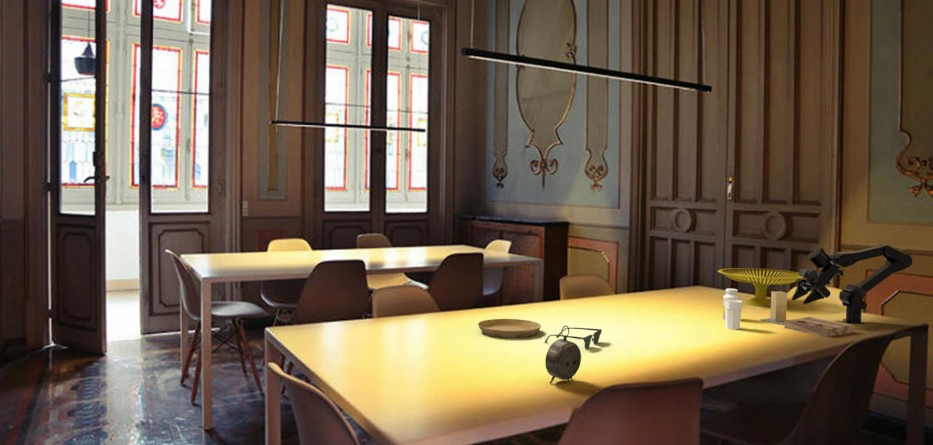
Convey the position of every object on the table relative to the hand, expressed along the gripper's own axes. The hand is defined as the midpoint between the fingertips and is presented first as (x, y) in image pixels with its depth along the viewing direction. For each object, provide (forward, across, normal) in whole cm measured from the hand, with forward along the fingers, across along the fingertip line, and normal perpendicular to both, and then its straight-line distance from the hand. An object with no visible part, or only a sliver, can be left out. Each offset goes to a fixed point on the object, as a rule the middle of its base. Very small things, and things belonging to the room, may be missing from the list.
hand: (797, 301), depth 281 cm
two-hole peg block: (+6, +17, +6) cm, 19 cm away
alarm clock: (+86, +90, -74) cm, 145 cm away
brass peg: (+11, 0, 0) cm, 11 cm away
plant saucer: (+93, +25, -81) cm, 126 cm away
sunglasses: (+79, +42, -66) cm, 111 cm away
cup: (+30, +14, -18) cm, 37 cm away
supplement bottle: (+25, -5, -12) cm, 28 cm away
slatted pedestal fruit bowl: (+3, -45, +10) cm, 46 cm away
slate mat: (+12, 0, 0) cm, 12 cm away
